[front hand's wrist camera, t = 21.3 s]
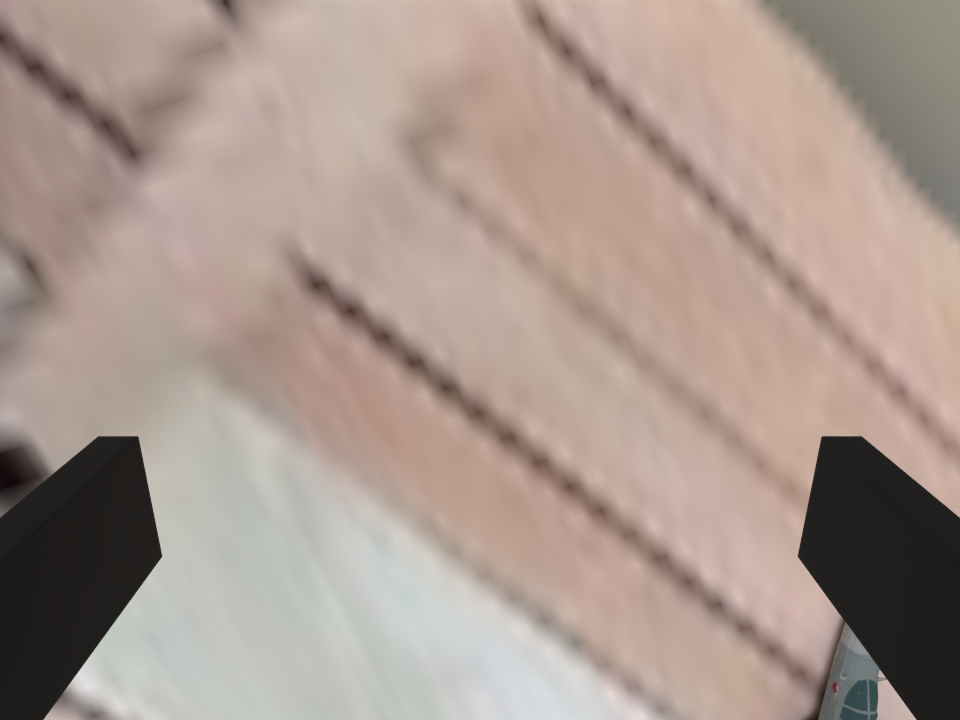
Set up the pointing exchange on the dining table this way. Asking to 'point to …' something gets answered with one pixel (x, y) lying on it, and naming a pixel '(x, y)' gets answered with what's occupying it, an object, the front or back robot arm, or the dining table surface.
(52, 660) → the front robot arm
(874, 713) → the airplane
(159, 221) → the dining table surface
